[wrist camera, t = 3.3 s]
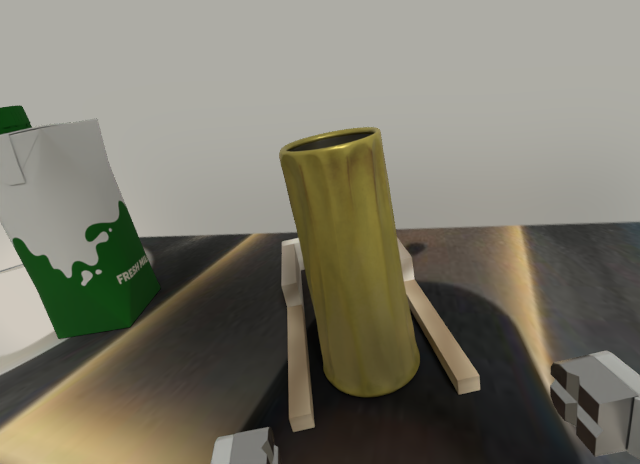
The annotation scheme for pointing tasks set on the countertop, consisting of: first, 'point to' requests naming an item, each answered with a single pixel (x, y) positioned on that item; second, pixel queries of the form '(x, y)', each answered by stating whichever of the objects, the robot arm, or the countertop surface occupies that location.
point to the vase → (352, 259)
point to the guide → (298, 359)
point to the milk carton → (71, 225)
